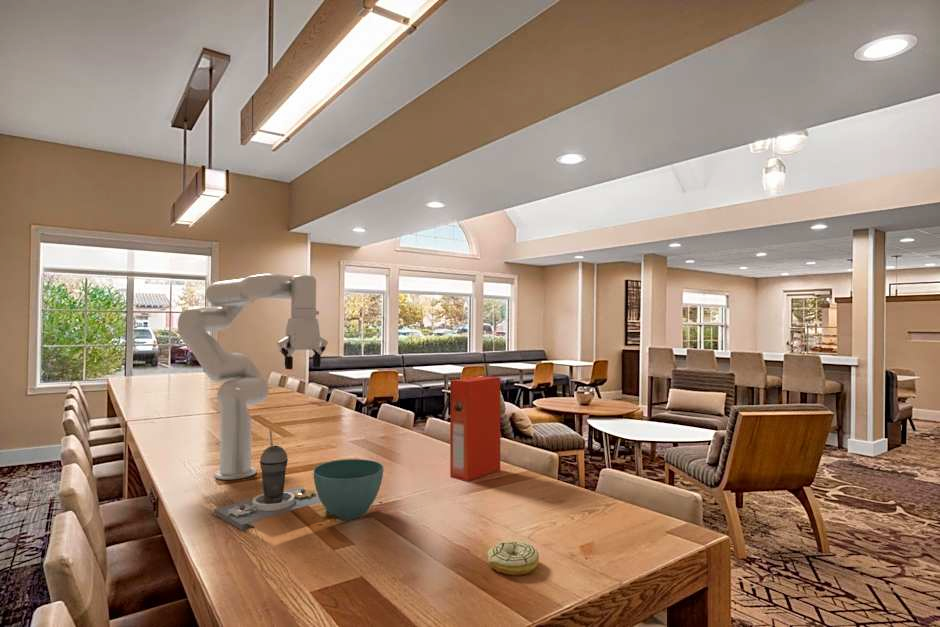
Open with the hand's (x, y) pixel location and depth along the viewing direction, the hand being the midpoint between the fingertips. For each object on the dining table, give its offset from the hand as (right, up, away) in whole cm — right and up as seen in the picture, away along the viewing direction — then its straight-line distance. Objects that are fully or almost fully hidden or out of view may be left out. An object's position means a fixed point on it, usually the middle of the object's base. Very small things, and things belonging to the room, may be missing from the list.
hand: (302, 368), depth 166 cm
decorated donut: (+62, -37, -55) cm, 91 cm away
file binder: (+55, -37, +11) cm, 67 cm away
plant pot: (+21, -36, -27) cm, 50 cm away
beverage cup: (-1, -35, -23) cm, 42 cm away
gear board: (0, -36, -23) cm, 43 cm away
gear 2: (+5, -35, -17) cm, 39 cm away
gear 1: (-6, -34, -30) cm, 46 cm away
